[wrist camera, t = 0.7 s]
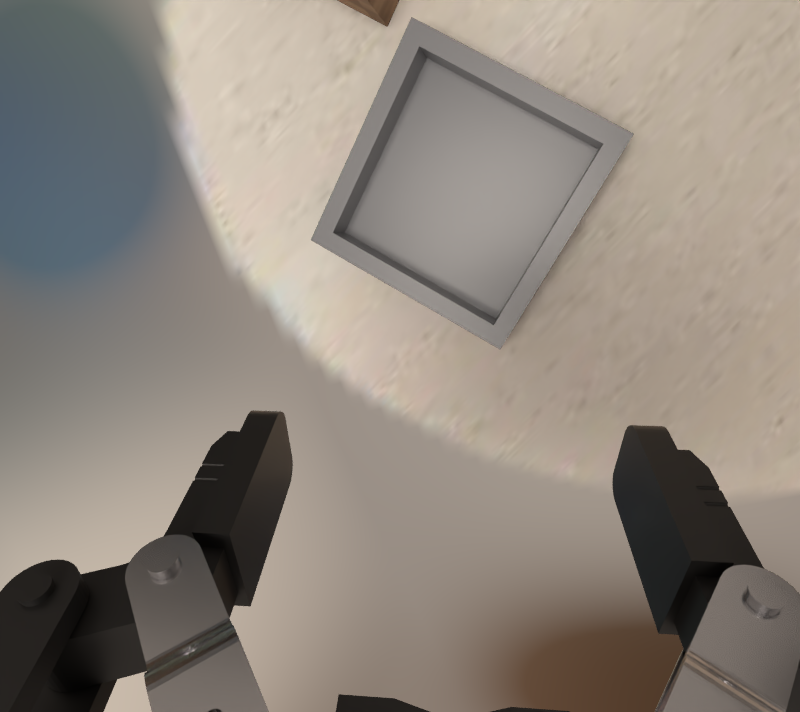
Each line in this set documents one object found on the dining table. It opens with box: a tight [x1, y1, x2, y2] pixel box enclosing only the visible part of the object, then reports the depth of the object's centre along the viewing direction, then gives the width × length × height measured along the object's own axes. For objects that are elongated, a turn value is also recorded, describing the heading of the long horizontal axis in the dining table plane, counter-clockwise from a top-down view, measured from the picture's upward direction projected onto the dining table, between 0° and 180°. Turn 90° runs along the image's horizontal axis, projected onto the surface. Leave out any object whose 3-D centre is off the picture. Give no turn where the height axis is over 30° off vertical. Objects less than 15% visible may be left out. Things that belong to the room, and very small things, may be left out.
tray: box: [311, 17, 633, 349], centre depth 36 cm, size 15×15×4 cm
